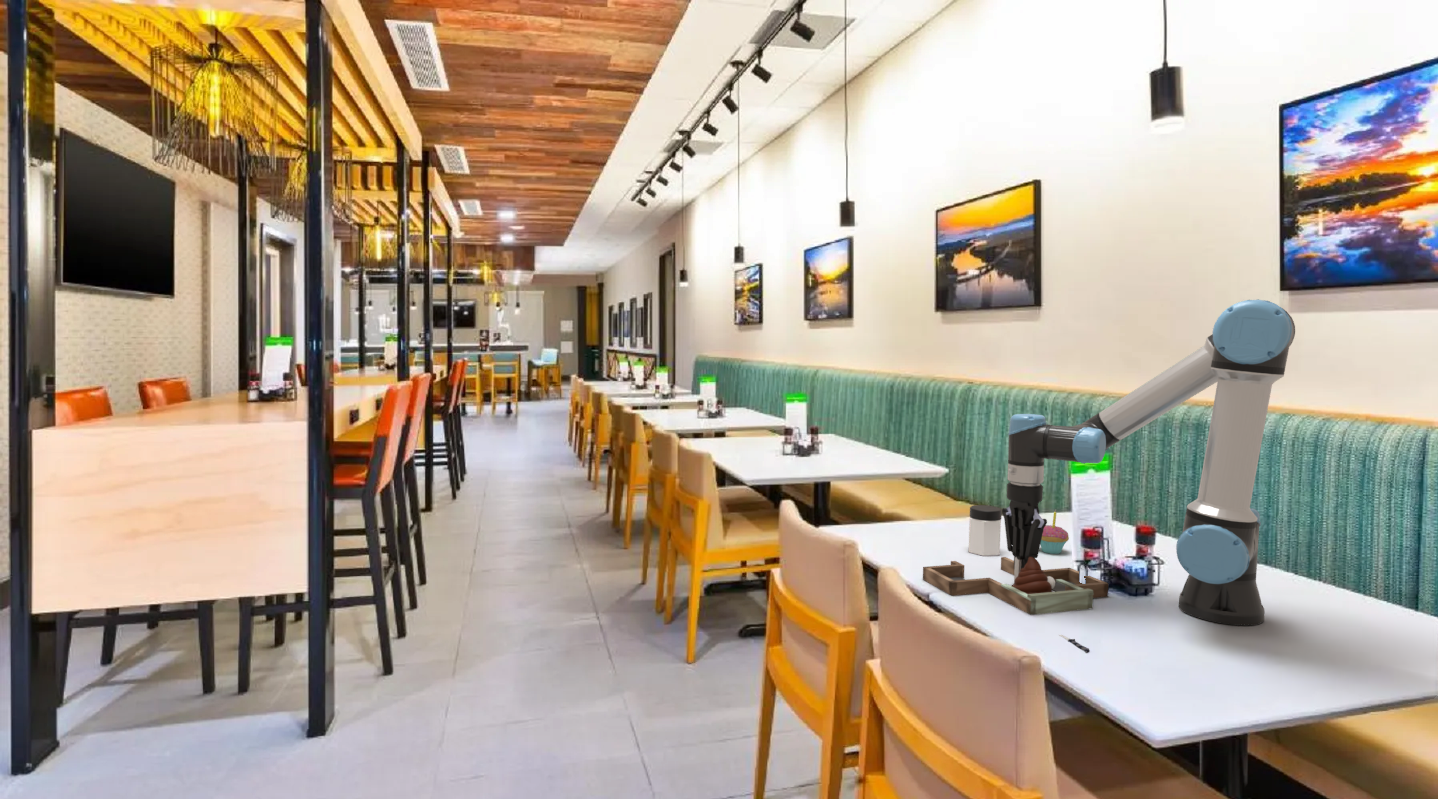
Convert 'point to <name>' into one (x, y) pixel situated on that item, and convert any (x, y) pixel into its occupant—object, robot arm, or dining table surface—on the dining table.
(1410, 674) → the dining table surface
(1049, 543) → the cupcake
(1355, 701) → the dining table surface
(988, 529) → the jar
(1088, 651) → the knife
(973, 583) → the box
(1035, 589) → the poop emoji
